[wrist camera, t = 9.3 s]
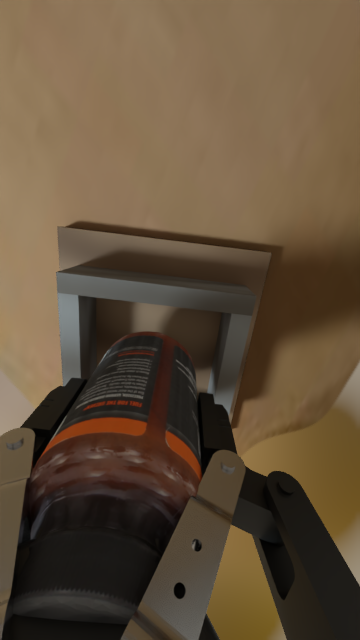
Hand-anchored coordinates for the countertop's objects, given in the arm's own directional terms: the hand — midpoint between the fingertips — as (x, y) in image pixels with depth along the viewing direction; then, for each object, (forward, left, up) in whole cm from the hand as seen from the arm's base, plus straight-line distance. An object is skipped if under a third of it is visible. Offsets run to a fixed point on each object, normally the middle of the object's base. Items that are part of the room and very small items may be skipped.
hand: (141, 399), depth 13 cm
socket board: (0, 0, -7) cm, 7 cm away
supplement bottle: (0, 0, -3) cm, 3 cm away
